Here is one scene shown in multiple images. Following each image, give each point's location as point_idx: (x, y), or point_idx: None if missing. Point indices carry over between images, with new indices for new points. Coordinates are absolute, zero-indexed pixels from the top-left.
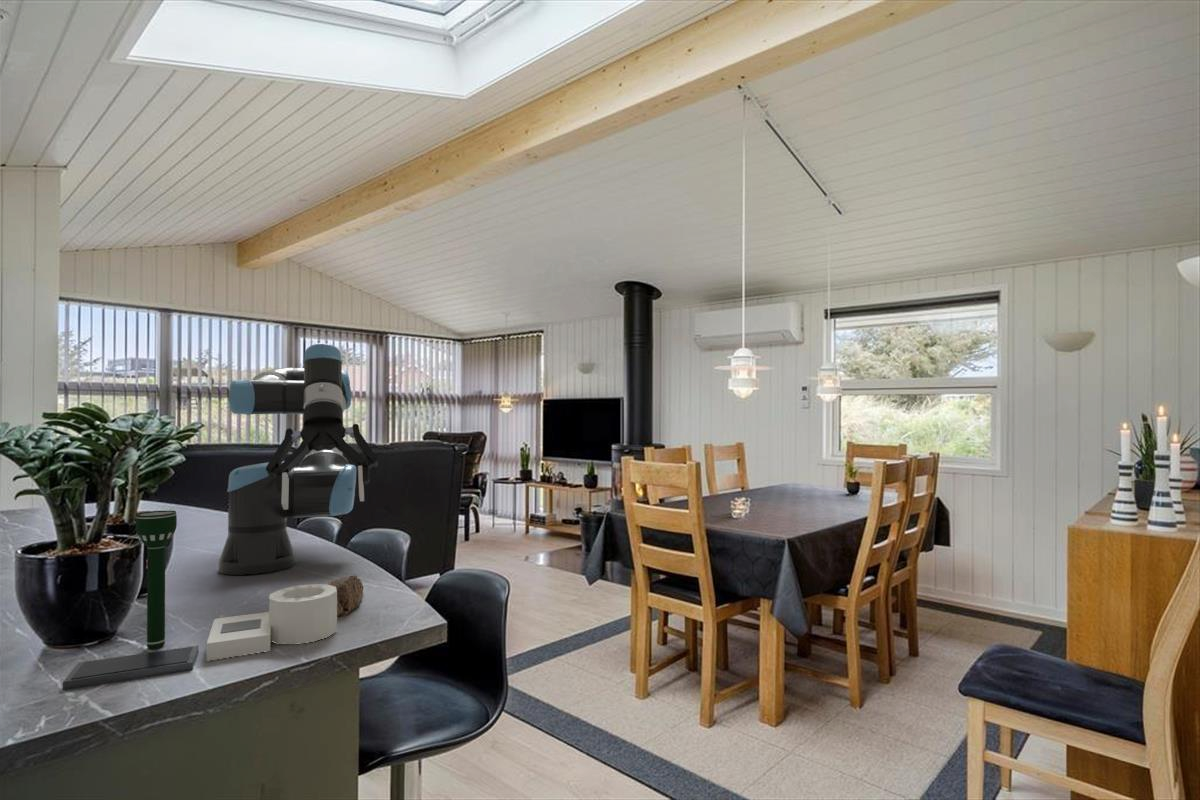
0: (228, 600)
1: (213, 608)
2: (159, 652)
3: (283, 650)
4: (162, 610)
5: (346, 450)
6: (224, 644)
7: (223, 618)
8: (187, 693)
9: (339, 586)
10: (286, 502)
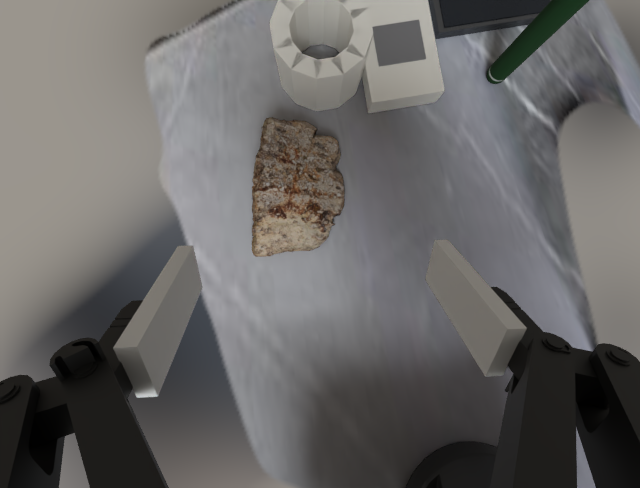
0: None
1: (472, 233)
2: (477, 17)
3: None
4: (516, 38)
5: (159, 479)
6: None
7: (432, 87)
8: None
9: (275, 119)
10: (435, 255)
